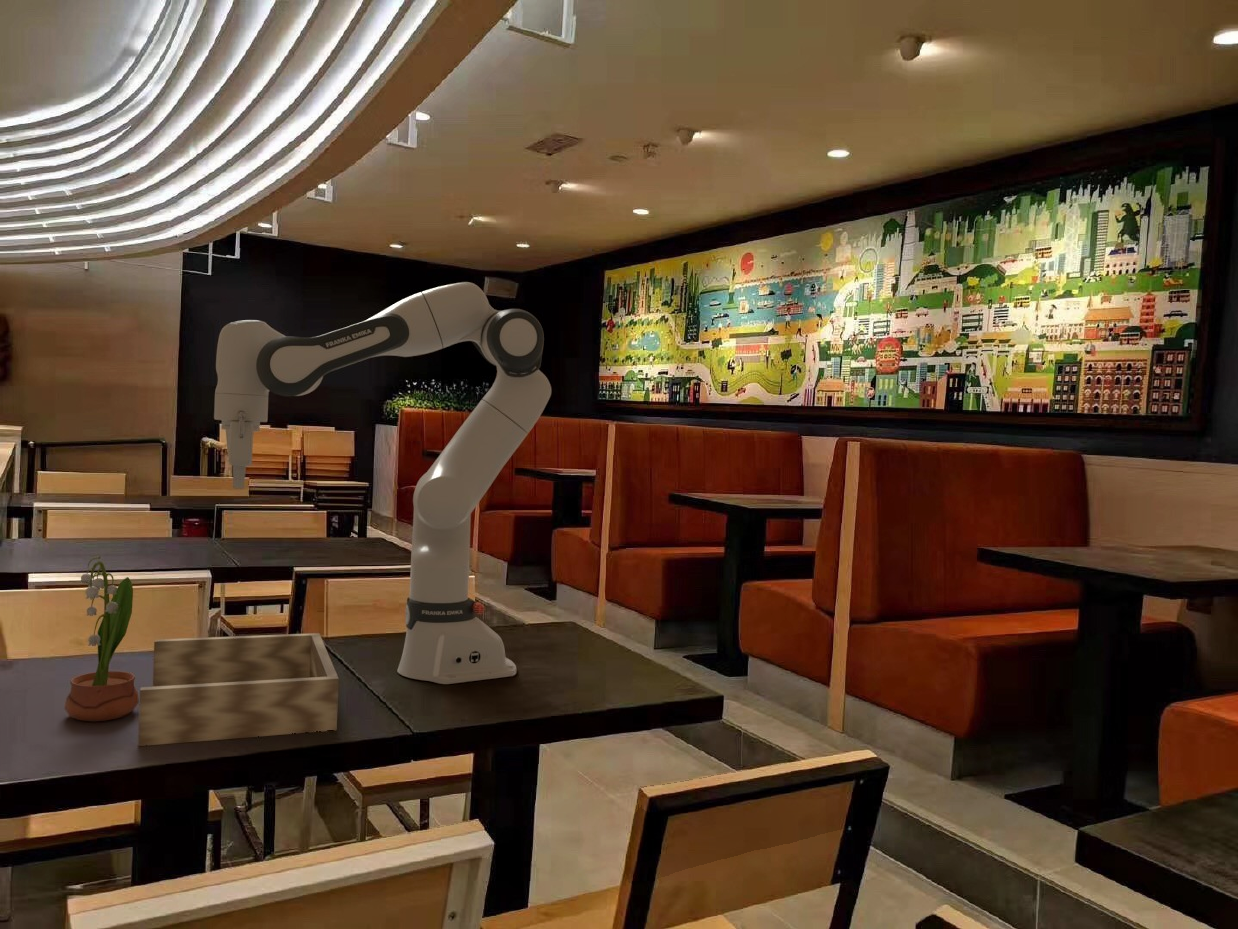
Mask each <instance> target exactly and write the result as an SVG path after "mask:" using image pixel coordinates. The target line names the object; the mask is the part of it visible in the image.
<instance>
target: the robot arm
mask: <svg viewBox="0 0 1238 929" xmlns="http://www.w3.org/2000/svg"><path fill="white" fill-rule="evenodd" d="M544 336H545V334H544V330H543V327H542V323H540V322H539V320H538V319H537V318H536V317H535V315H533V314H532V313H531V312H528V311H526V310H524V309H520V308H508V309H504V310H503V309H502V310H497V309H494V307H492V306H491V304H490V302H489V300H488V298H487V295H486V294H485V292H484V291H483V290H482V288H480V287H479V286H478V285H477V284H475V283H473V282H469V281H461V282H456V283H449V284H446V285H439V286H437V287H433V288H429V289H426V290H423V291H420V292H417V293H414V294H412V295H409V296H407V297H405V298H402V299H401V300H398V301H397V302H395V303H394V304H392V305H390V306H388V307H386V308H384V309H383V310H380V312H378V313H376V314H374V315H373V316H370V317H369V318H368V319H367V318H366V320H363V321H361V322H358V323H354V324H351V325H349V326H346V327H343V328H339V329H336V330H333V331H330V332H327V333H324V334H321V335H317V336H312V337H301V336H290V335H289V336H286V335H285V334H282V333H281V332H279V331H278V330H276V329H275V328H272V327H271V326H270V325H269V324H267V322H266V321H263V320H257V319H245V320H237V321H232V322H229V323H227V324H225V325H224V326H223V328H221V330H220V333H219V335H218V341H217V347H216V358H215V370H216V374H217V385H216V386H215V387H216V388H215V392H214V412H213V419H214V420H216V421H218V420H219V421H221V430H225V438H226V439H225V440H226V450H227V451H226V452H227V456H228V464H229V465H230V466H232V477H233V480H232V481H233V482H232V484H233V485H232V487H233V489H235V490H244V489H245V478H246V473H247V472H246V470H247V467H249V466H252V463H253V447H254V446H253V443H254V432H259V431H260V429H261V423H267V422H268V418H269V416H268V414H269V412H268V411H269V395H270V394H269V392H272V393H273V394H274V395H277V396H281V397H300V396H304V395H307V394H310V393H311V392H314V391H315V390H316V389H317V388H318V387H319V386H320V384H321V383H322V381H323V379H324V376H325V375H327V374H329V373H331V372H333V371H336V370H339V369H341V368H345V367H347V366H351V365H353V364H356V363H358V362H362V361H364V360H367V359H368V360H369V359H370V358H375V357H383V356H395V357H396V356H397V357H403V358H408V357H414V356H415V357H417V356H422V355H426V354H430V353H434V352H437V351H439V350H442V349H445V348H447V347H451V346H453V345H455V344H459V343H462V342H471V343H472V344H473V346H474V347H475V348H476V350H477V351H478V352H479V354H480V355H481V356H482V357H483V359H484V360H485V361H487V362H488V363H489V364H491V365H492V366H495V367H496V371H497V372H496V376H495V379H494V382H493V383H492V386H491V387H490V389H489V390H488V391H487V392H486V394H484V396H483V397H482V399H481V400H480V401H479V403H477V405H476V406H475V408H474V409H473V410H472V411H471V413H470V414H469V415H468V416H467V418H466V419H465V421H464V422H463V423H462V425H461V426H460V427H459V429H458V430H457V431H456V432H455V434H454V435H453V436H452V438H451V439H450V441H449V442H448V443H447V445H446V446H445V447H444V449H443V450H442V451H441V453H440V454H439V455H438V457H437V458H436V459H435V461H434V462H433V464H431V466H430V468H429V469H428V470H427V472H425V473H424V474H423V475H422V476H421V477H420V478H419V480H418V481H417V483H416V486H415V488H414V492H413V496H412V497H413V498H412V504H413V519H412V534H411V535H412V536H411V537H412V538H411V551H410V552H411V554H410V578H409V596H408V597H407V598H406V599H407V600H406V605H405V627H406V634H405V639H404V645H403V650H402V655H401V657H400V661H399V664H398V666H397V667H398V668H397V673H398V674H399V675H401V676H403V677H406V678H409V679H414V680H419V681H427V682H428V681H429V682H431V683H432V682H433V683H436V684H439V685H441V684H442V685H450V684H459V683H467V682H474V681H482V680H483V681H484V680H491V679H499V678H507V677H513V676H515V675H516V674H517V665H516V664H515V663H514V661H512V660H511V659H509V658H508V657H506V651H505V645H504V642H503V639H502V638H501V636H500V635H499V634H498V633H497V632H495V631H494V630H493V629H492V628H490V626H488V625H487V624H485V623H484V622H483V621H482V620H481V619H480V618H478V617H477V615H482V614H484V612H485V610H486V607H485V606H484V604H483V603H481V602H478V601H475V600H474V599H472V598H470V597H469V584H470V583H469V582H470V579H469V578H470V564H471V563H470V562H471V561H470V560H471V559H470V557H471V553H470V552H471V519H472V518H471V514H472V512H474V510H475V509H476V507H477V506H478V504H479V503H480V501H481V500H482V498H483V497H484V496H485V494H486V492H487V491H488V490H489V488H490V487H491V486H492V484H493V482H494V481H495V480H496V478H497V476H499V473H500V472H501V471H502V470H503V468H504V466H506V464H507V462H509V460H510V459H511V457H512V456H513V455H514V453H516V451H517V449H518V448H519V447H520V445H521V444H522V443H523V441H524V440H525V438H526V437H527V436H528V434H530V432H531V431H532V429H533V428H534V426H535V425H536V423H537V422H538V420H539V419H540V417H541V415H542V414H543V412H544V410H545V408H546V406H547V404H548V402H549V400H550V398H551V396H552V386H551V383H550V381H549V379H548V377H547V376H546V375H545V374H544V373H543V372H542V371H541V370H540V368H541V365H542V359H543V358H542V356H543V351H544V343H545V342H544V341H545V337H544Z"/></svg>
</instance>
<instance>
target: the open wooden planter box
mask: <svg viewBox="0 0 1238 929" xmlns="http://www.w3.org/2000/svg"><path fill="white" fill-rule="evenodd" d="M153 643H154V644H153V672H152V686H141V687H140V689H139V703H138V704H139V707H138V708H139V710H138V736H137V737H138V738H137V739H138V741H137V747H143V746H144V747H145V746H146V745H147V746H157V745H169V744H181V743H195V742H205V741H206V742H209V741H218V740H219V741H220V740H230V739H231V740H233V739H243V738H244V739H245V738H256V737H258V736H259V737H268V736H269V737H270V736H279V735H280V736H282V735H283V736H284V735H295V734H294V733H296V734H305V732H309V733H317V732H316V731H318V732H319V731H321V732H328V731H327V730H334V731H337V729H338V706H339V704H338V703H339V702H338V701H339V681H340V680H339V679H340V678H339V677H338V674H337V671H336V669H335V667H334V665H333V662H332V660H331V657H330V655H329V653H328V650H327V648H326V645H325V643H324V641H323V639H322V637H321V634H320V633H319V632H318V633H317V632H313V633H312V632H311V633H290V634H289V633H288V634H287V633H286V634H267V635H265V634H264V635H263V634H262V635H238V636H211V637H190V638H189V637H188V638H187V637H186V638H165V639H164V638H163V639H159V638H158V639H154V642H153ZM292 733H293V734H292ZM147 746H146V747H147Z"/></svg>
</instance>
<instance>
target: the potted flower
mask: <svg viewBox="0 0 1238 929" xmlns="http://www.w3.org/2000/svg"><path fill="white" fill-rule="evenodd" d="M97 559H99V560H98V561H96V562H94V563H93V566H92V567H90V568H89V566H90V563H91V562H92V561H94V560H97ZM100 559H101V556H100V555H99V556H96V557H93V558H91V559H90V561H89V562H88V564H87V568H89V569H88V570H87V571H86V572H85V573H83V574H82V575H81V576H80V580H79V582H80V583H82V584H85V583H86V584H87V586H88V587H87V588H86V589H85V592H84V593H85V595H86V597H85V599H86V600H87V599H89V600H92V601H91V604H90V605H91V606H89V607H87V609H86V616H90V617H93V616H97V615H98V614H97V611H98V609H97V608H96V606H93V603H94V601H95V599H97V598H101V599H102V600H103V602H104V609H103V612H104V613H103V614H100V615H99V616H98V617H97V620H96V622H95V624H94V625H95V627H94V630H93V634H90V635H89V637H88V639H87V640H88V644H87V646H89V647H90V646H91V647H96V646H97V660H98V661H97V662H98V663H97V668H96V671H93V672H88V673H84V674H80V675H77V676H74V677H72V678H71V680H70V681H69V682H70V685H71V687H70V692H69V693H68V695H67V697H66V698H65V704H64V710H65V712H66V713H67V714H68V715H69V716H70V717H71V718H74V719H76V720H79V721H84V722H102V721H110V720H114V719H119V718H121V717H125V716H126V715H129V714H130V713H132V712H133V711H134V710H135V708H136V707H137V706H138V704H140V698H139V692H138V691H137V689H136V687H135V679H136V675H135V674H133V673H131V672H127V671H121V670H109V665H110V664H111V663H110V662H111V661H112V659H113V656H114V654H115V652H116V650H117V648H118V646H120V644H121V642H122V640H124V637H126V633H127V630H128V626H129V623H130V620H131V617H132V614H133V602H134V601H133V599H134V598H133V597H134V588H133V587H134V586H133V583H132V580H131V579H130V577H129V576H127V577H125V578H124V579H122V580H121V581H120V582H119V584H118V586H117V585H114V576H113V574H112V573H110V572H107V571H106V567H105V564H104V563H103V561H101V560H100ZM98 566H99V568H98V570H97V571H96V572H95V570H96V568H97V567H98ZM90 570H91V571H90ZM100 571H101V572H100ZM89 572H90V573H89ZM94 572H95V573H94ZM99 576H102V578H99ZM108 576H110V577H111V585H109V580H108ZM95 577H96V578H95ZM100 590H103V595H101V594H99V591H100ZM110 595H112V598H111V599H110ZM101 618H102V620H101V622H100V625H99V627H98V629H97V626H98V623H99V621H100V619H101ZM96 629H97V631H96ZM96 632H97V634H96Z"/></svg>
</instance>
